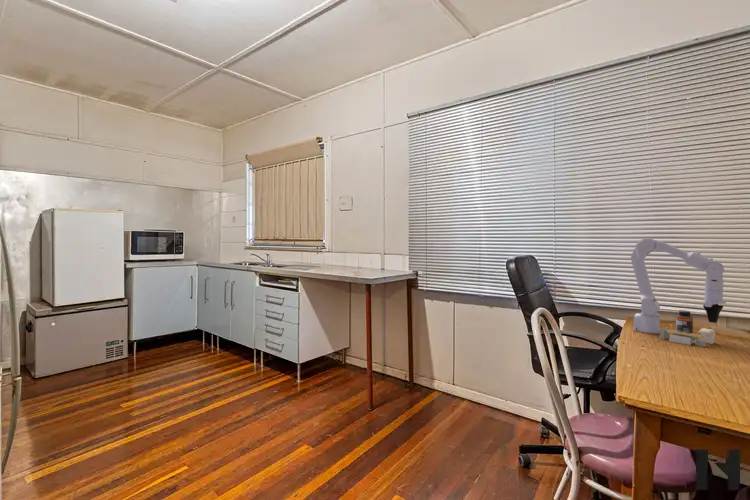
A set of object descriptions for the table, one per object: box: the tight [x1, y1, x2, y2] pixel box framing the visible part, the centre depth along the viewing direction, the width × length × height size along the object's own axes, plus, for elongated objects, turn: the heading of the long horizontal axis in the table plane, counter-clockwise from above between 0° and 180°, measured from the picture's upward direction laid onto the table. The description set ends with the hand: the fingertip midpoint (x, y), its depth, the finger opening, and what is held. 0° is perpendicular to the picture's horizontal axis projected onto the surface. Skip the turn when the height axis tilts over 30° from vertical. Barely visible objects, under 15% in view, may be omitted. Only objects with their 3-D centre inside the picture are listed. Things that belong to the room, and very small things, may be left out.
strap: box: [665, 329, 704, 339], centre depth 160 cm, size 13×2×1 cm, turn 35°
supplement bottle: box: [675, 309, 694, 334], centre depth 175 cm, size 6×6×11 cm
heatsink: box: [668, 333, 697, 346], centre depth 160 cm, size 7×7×3 cm
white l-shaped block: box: [697, 327, 716, 345], centre depth 158 cm, size 4×7×5 cm, turn 125°
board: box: [659, 326, 707, 348], centre depth 160 cm, size 16×22×6 cm
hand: (712, 322), depth 163 cm, fingers closed
